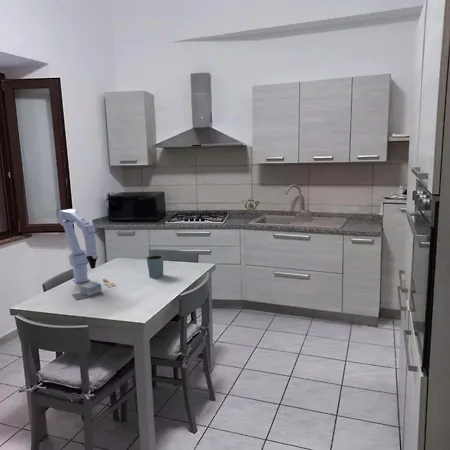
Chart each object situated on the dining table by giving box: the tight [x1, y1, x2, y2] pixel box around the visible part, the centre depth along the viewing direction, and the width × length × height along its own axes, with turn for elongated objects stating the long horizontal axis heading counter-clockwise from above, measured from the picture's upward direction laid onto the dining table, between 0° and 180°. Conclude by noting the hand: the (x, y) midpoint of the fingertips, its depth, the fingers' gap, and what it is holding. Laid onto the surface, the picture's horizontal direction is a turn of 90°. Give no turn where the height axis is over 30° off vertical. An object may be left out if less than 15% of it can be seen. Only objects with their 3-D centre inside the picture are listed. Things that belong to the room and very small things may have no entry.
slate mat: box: [72, 292, 104, 301], centre depth 217 cm, size 10×14×1 cm
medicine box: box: [79, 281, 103, 296], centre depth 219 cm, size 8×4×9 cm
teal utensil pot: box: [146, 254, 164, 279], centre depth 245 cm, size 10×10×12 cm
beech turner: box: [102, 278, 117, 288], centre depth 235 cm, size 15×4×1 cm, turn 34°
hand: (92, 268), depth 231 cm, fingers closed
